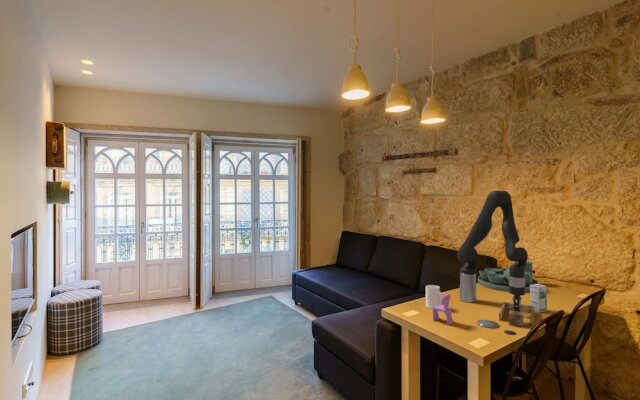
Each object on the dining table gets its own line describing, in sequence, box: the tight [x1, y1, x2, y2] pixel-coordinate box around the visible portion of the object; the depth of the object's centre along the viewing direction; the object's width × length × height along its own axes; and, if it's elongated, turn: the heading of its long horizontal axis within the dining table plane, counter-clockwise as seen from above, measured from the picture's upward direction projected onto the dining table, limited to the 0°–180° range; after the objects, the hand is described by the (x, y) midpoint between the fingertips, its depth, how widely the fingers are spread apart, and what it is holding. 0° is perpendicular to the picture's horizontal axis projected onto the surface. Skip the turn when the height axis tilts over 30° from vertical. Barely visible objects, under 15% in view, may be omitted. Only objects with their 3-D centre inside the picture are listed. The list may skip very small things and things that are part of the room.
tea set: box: [477, 260, 542, 293], centre depth 250 cm, size 40×40×16 cm
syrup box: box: [529, 284, 548, 313], centre depth 195 cm, size 6×6×14 cm
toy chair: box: [432, 293, 454, 326], centre depth 181 cm, size 8×9×15 cm
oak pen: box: [498, 301, 536, 327], centre depth 187 cm, size 15×23×4 cm, turn 147°
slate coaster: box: [476, 319, 499, 329], centre depth 176 cm, size 10×10×1 cm
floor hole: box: [503, 329, 517, 336], centre depth 165 cm, size 5×5×1 cm
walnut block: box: [508, 309, 524, 328], centre depth 176 cm, size 6×6×6 cm
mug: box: [424, 284, 445, 310], centre depth 203 cm, size 8×12×12 cm
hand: (517, 315), depth 184 cm, fingers open, 8 cm apart
